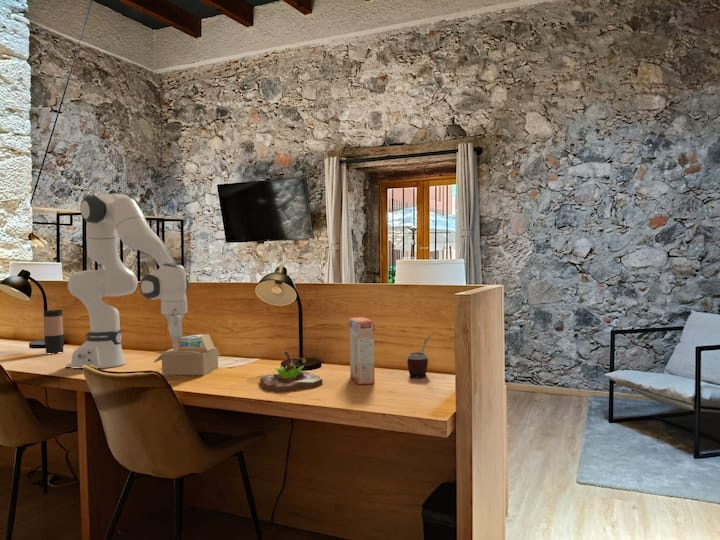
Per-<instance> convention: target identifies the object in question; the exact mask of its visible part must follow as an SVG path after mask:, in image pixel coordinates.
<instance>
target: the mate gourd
mask: <svg viewBox="0 0 720 540" xmlns="http://www.w3.org/2000/svg"><path fill="white" fill-rule="evenodd" d="M433 335H434V334H431V335H428V336H427V337H426V338H425V339H424V342H423V344H422V345H423V346H422V349H421V351H420V352H411V353H409V354H408V357H407V368H408V372H409V379H411V378H418V379H423V377H427V370H428V366H429V365H428V364H429V360H428V356H427V355H426V353H425V352H424V350H425V347H426V344H427V342H428V340H429V339H431V337H432V336H433Z"/></svg>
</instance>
